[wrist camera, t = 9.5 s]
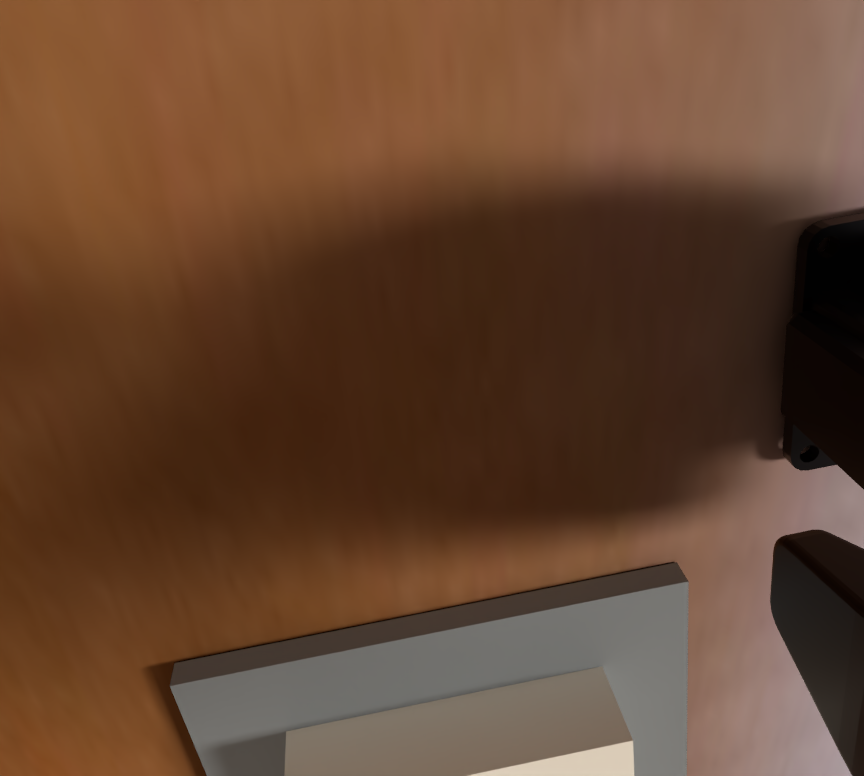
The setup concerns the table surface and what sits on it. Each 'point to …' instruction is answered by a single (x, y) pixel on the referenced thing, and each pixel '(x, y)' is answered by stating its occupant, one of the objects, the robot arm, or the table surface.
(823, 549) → the robot arm
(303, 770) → the socket
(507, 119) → the table surface
